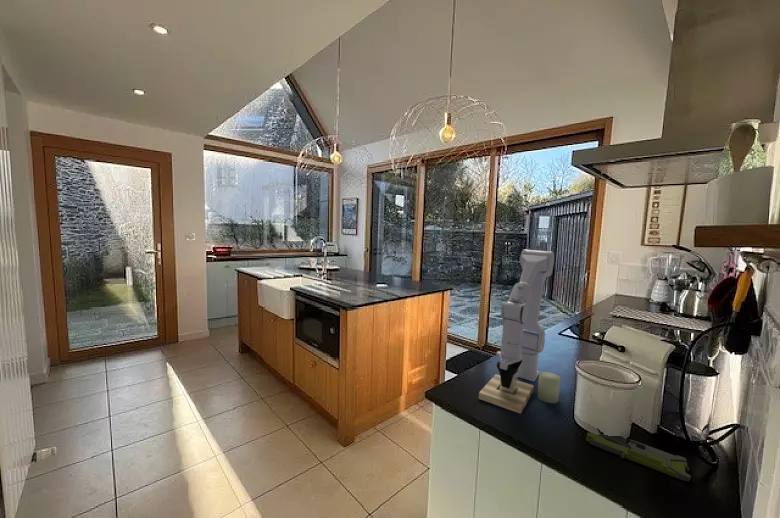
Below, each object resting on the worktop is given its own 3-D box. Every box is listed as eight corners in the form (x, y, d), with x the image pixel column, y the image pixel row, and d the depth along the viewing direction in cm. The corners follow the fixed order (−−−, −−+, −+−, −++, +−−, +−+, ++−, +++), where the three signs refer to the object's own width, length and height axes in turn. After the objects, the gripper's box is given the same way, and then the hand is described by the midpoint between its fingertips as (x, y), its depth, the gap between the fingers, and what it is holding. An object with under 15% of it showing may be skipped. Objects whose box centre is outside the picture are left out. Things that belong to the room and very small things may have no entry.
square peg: (502, 387, 103) (504, 366, 102) (516, 392, 101) (518, 370, 100) (499, 392, 100) (501, 370, 99) (512, 397, 97) (514, 374, 97)
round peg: (538, 391, 104) (540, 370, 103) (559, 396, 101) (561, 375, 100) (536, 399, 99) (537, 377, 98) (557, 405, 96) (559, 382, 95)
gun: (682, 450, 79) (690, 489, 67) (591, 418, 91) (584, 447, 79) (684, 440, 79) (692, 478, 67) (592, 410, 90) (586, 437, 78)
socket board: (495, 379, 110) (495, 374, 110) (533, 391, 104) (533, 385, 103) (478, 398, 97) (479, 392, 97) (520, 413, 90) (521, 406, 90)
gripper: (505, 332, 107) (501, 372, 108) (490, 344, 95) (487, 388, 96) (527, 337, 103) (523, 379, 104) (516, 350, 91) (511, 397, 92)
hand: (507, 384), depth 100 cm, fingers closed on square peg, 4 cm apart
